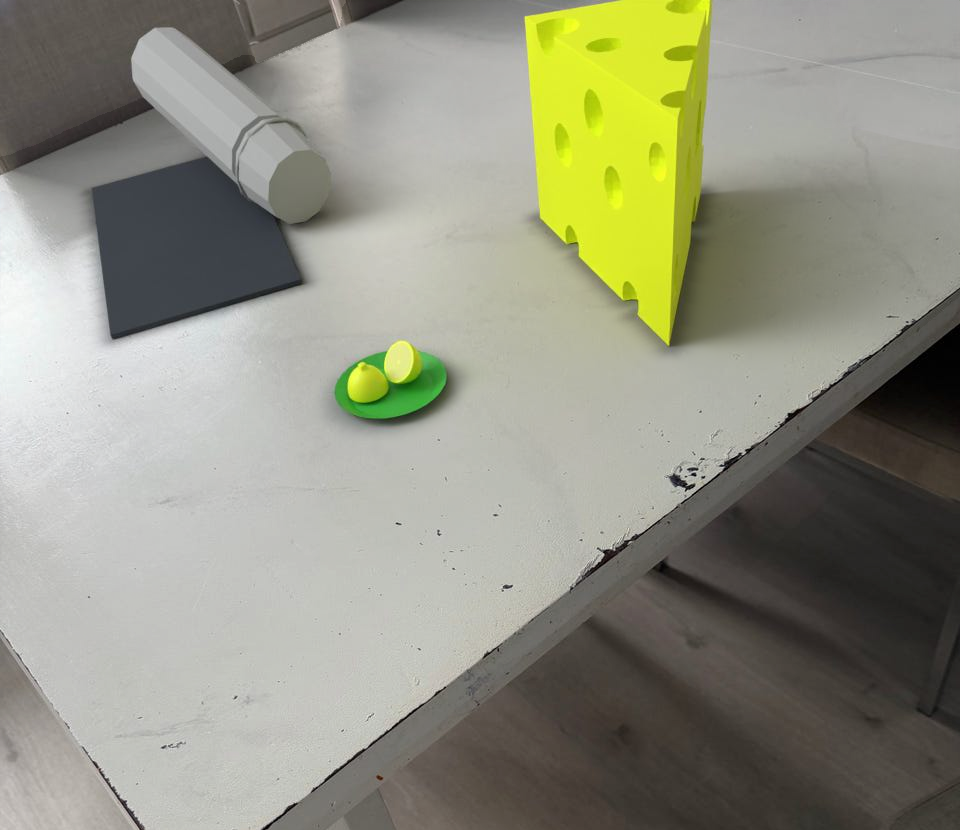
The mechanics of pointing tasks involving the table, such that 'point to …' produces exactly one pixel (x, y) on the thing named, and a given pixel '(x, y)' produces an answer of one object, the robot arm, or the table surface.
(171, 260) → the slate mat
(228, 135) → the water bottle
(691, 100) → the cheese wedge
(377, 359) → the lemon
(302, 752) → the table surface
